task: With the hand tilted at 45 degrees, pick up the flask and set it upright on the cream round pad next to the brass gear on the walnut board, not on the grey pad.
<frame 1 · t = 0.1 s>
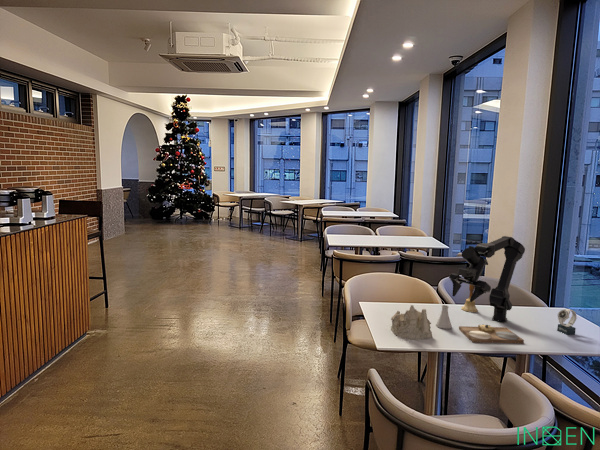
hand: (461, 298, 191), 15 cm above the table, tool tilted 35°, fingers open, 9 cm apart
flask: (443, 327, 197), on the table
watch: (565, 333, 194), on the table
gear board: (489, 336, 187), on the table
hand bell: (469, 310, 223), on the table
ceramic cottage: (411, 333, 188), on the table
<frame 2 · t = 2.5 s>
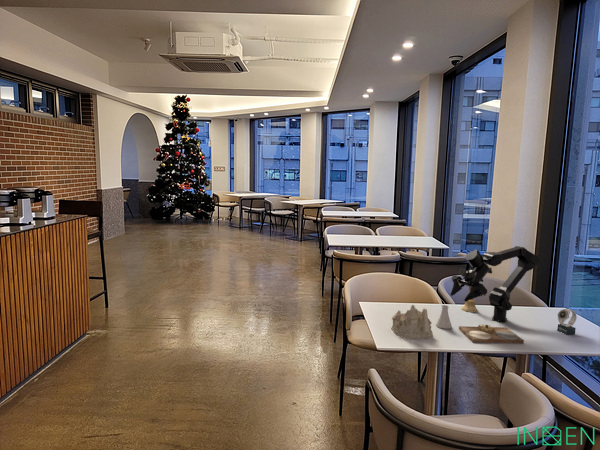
hand: (457, 298, 198), 13 cm above the table, tool tilted 45°, fingers open, 9 cm apart
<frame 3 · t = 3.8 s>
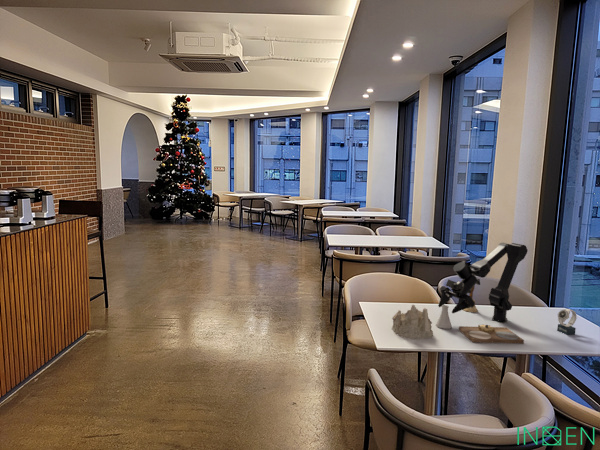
hand: (445, 309, 196), 8 cm above the table, tool tilted 45°, fingers open, 9 cm apart
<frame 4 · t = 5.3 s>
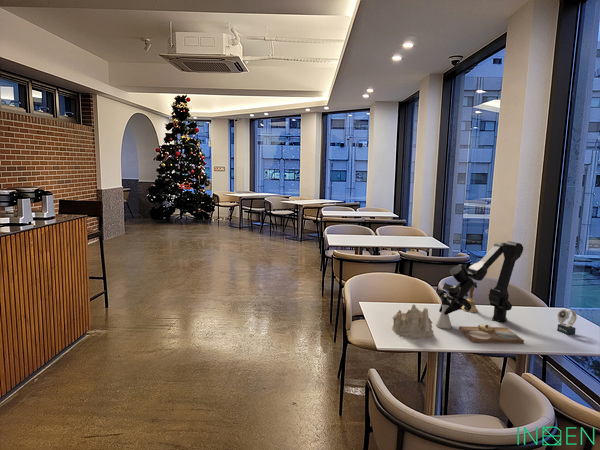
hand: (442, 313, 196), 7 cm above the table, tool tilted 45°, fingers closed on flask, 3 cm apart
flask: (443, 326, 197), on the table, touching gripper
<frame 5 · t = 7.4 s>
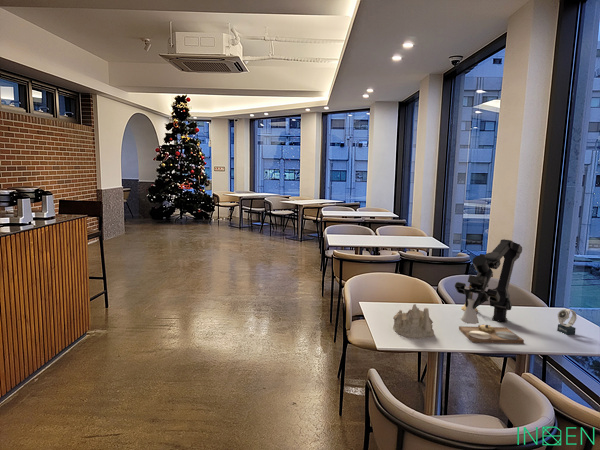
hand: (469, 307, 184), 13 cm above the table, tool tilted 45°, fingers closed on flask, 3 cm apart
flask: (469, 322, 186), point 6 cm above the table, touching gripper
when the fingers open (10 cm above the table, at t = 8.9 s): flask stays where it is, resting on gear board.
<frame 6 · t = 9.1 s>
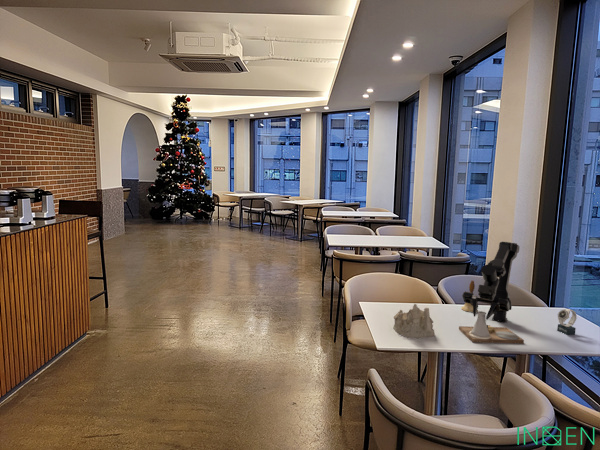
hand: (480, 317, 181), 10 cm above the table, tool tilted 45°, fingers open, 5 cm apart
flask: (480, 334, 184), point 2 cm above the table, touching gear board
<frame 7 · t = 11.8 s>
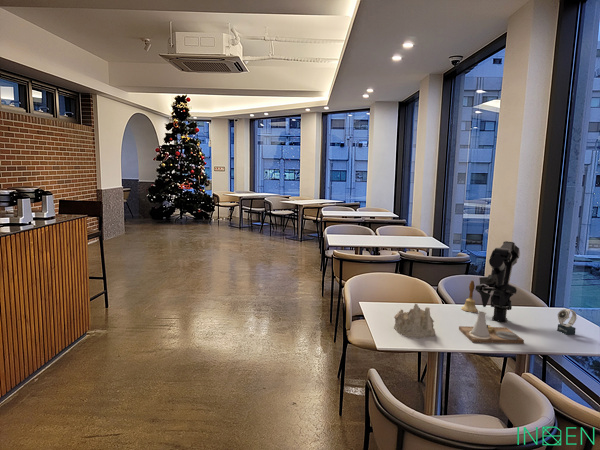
hand: (492, 307, 189), 12 cm above the table, tool tilted 30°, fingers open, 9 cm apart
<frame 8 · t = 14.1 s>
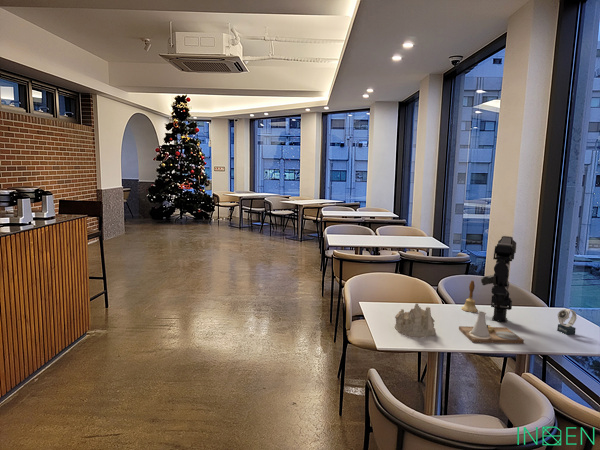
hand: (499, 304, 194), 12 cm above the table, tool pointing down, fingers open, 9 cm apart
at the end: flask 0.2 cm from the target spot, point 1.6 cm above the table; flask tilted 0°; the gripper is holding nothing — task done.
